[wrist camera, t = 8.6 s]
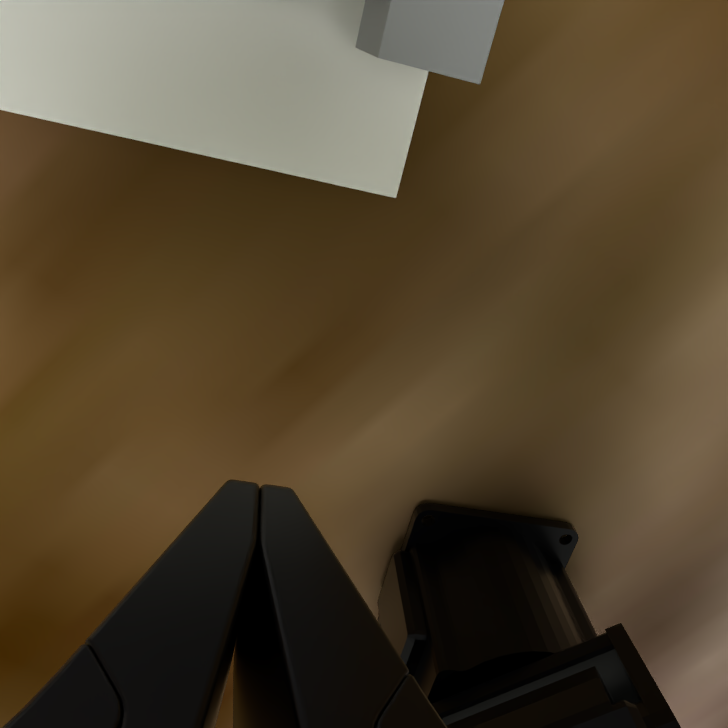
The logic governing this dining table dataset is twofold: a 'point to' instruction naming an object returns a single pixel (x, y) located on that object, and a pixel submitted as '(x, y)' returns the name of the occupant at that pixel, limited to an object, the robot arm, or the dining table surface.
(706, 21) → the dining table surface
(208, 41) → the pipe rig
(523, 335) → the dining table surface
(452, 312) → the dining table surface
